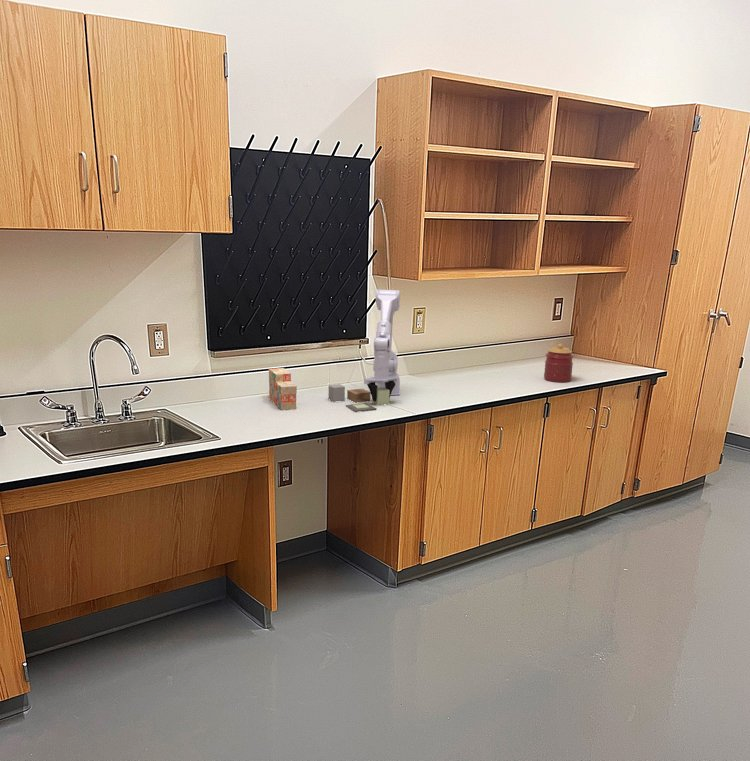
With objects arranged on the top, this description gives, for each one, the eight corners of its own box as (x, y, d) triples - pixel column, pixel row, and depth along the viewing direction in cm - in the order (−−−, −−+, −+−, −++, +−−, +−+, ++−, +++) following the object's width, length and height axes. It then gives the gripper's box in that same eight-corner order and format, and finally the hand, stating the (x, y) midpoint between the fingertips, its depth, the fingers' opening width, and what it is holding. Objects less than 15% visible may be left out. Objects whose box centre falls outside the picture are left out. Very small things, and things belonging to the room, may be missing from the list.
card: (366, 404, 271) (366, 402, 270) (376, 409, 263) (376, 407, 263) (345, 406, 267) (345, 404, 267) (355, 412, 259) (355, 409, 259)
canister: (559, 376, 333) (562, 340, 329) (577, 381, 322) (580, 345, 318) (537, 377, 328) (540, 341, 324) (555, 383, 316) (558, 346, 312)
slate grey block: (339, 398, 280) (339, 384, 278) (344, 401, 275) (344, 386, 274) (328, 399, 277) (328, 385, 276) (333, 402, 273) (333, 387, 272)
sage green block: (383, 401, 276) (383, 387, 275) (389, 404, 272) (389, 390, 270) (372, 402, 274) (372, 388, 273) (377, 405, 270) (378, 391, 268)
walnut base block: (362, 397, 282) (362, 388, 281) (370, 401, 276) (370, 392, 275) (347, 399, 279) (347, 390, 278) (355, 403, 273) (355, 393, 272)
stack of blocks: (296, 409, 261) (296, 378, 259) (280, 410, 259) (280, 379, 257) (283, 396, 281) (283, 367, 278) (268, 397, 279) (268, 368, 276)
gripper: (369, 370, 263) (368, 404, 266) (402, 367, 269) (401, 400, 272) (361, 366, 269) (361, 399, 272) (394, 364, 275) (393, 396, 278)
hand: (380, 400), depth 272 cm, fingers open, 5 cm apart
